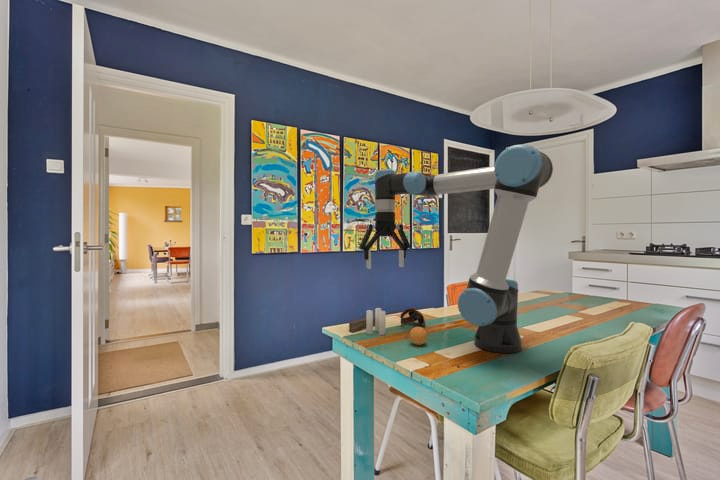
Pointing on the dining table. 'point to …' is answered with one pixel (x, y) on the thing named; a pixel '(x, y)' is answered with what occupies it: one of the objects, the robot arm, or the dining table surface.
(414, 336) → the ball
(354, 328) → the back wall
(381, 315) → the front pin
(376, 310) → the pin
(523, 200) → the robot arm
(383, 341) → the dining table surface
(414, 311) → the pottery mug
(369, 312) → the pin
